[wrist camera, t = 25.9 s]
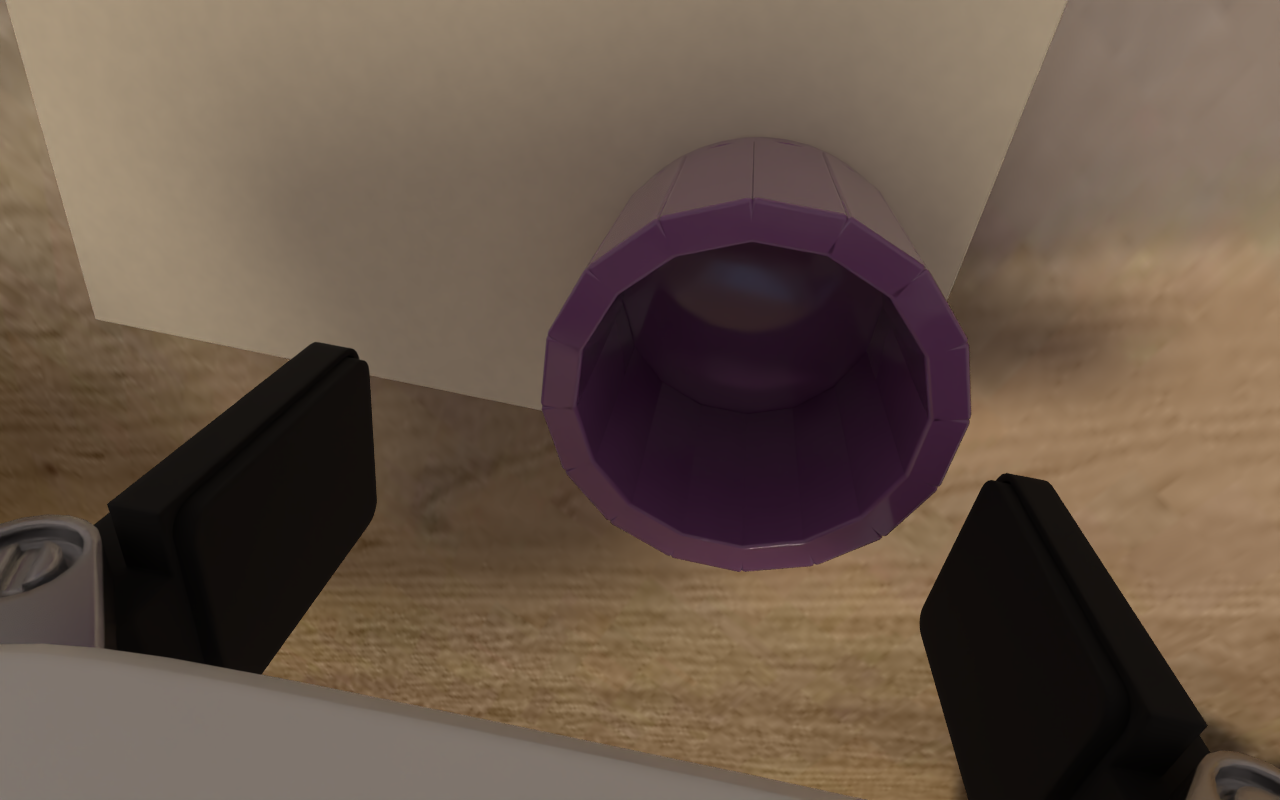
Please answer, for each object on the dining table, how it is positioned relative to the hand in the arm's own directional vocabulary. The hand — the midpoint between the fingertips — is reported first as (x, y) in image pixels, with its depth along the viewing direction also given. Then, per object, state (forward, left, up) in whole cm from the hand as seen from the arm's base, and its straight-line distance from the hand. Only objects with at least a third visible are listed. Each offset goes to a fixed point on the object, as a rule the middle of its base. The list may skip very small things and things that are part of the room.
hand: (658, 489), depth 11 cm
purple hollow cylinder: (+1, +1, -6) cm, 6 cm away
